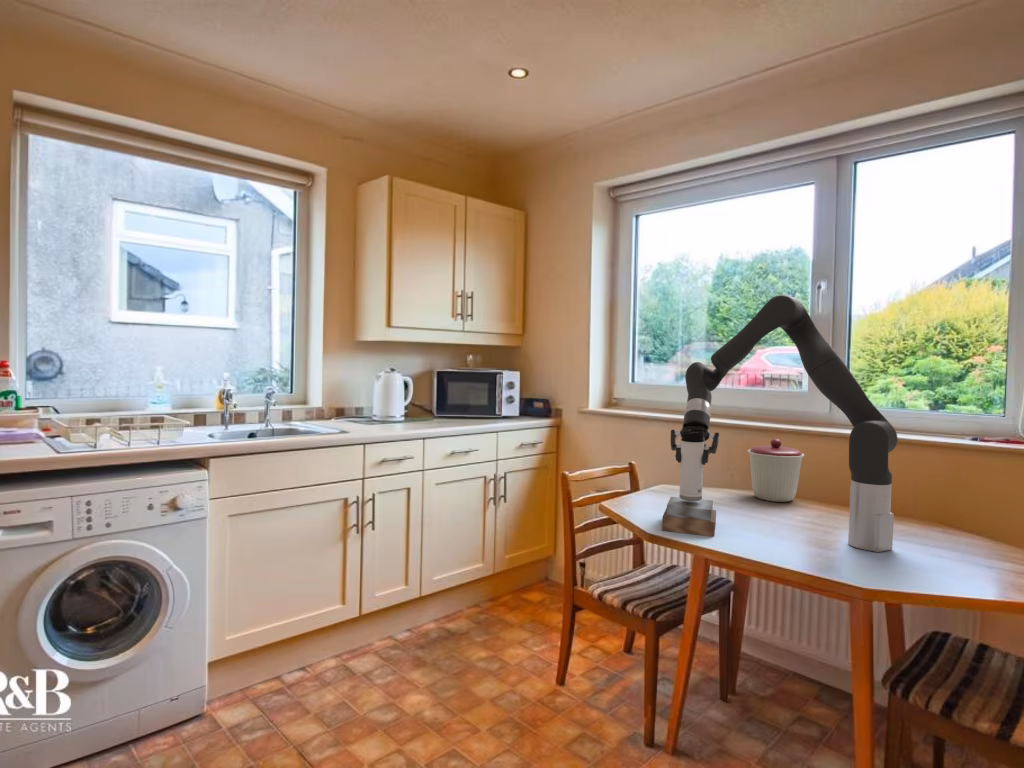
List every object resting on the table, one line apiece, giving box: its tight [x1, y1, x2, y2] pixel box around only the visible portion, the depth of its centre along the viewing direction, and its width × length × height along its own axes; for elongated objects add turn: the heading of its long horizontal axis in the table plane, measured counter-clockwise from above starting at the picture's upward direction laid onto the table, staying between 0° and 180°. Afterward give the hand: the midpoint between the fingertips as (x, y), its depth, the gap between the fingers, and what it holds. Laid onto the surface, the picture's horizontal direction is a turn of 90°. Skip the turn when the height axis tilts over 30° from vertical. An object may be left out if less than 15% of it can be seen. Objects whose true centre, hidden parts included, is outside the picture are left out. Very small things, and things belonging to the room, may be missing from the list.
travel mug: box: [678, 429, 705, 501], centre depth 175 cm, size 6×7×20 cm
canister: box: [747, 438, 805, 503], centre depth 213 cm, size 18×18×21 cm
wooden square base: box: [661, 496, 717, 537], centre depth 175 cm, size 14×14×7 cm
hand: (691, 461), depth 173 cm, fingers closed on travel mug, 6 cm apart
